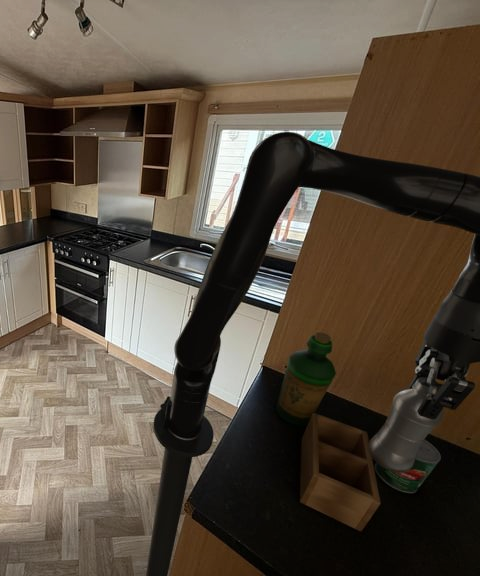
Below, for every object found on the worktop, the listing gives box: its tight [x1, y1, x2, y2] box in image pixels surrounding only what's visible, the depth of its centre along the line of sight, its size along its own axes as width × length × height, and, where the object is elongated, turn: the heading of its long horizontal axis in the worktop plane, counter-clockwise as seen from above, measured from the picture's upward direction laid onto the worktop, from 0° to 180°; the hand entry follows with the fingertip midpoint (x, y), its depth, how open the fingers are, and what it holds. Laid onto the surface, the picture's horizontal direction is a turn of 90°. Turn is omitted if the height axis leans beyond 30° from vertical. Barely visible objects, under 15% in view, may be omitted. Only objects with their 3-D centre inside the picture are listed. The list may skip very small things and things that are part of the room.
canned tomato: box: [374, 438, 442, 494], centre depth 72 cm, size 8×8×11 cm
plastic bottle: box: [368, 377, 445, 472], centre depth 58 cm, size 6×7×20 cm
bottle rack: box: [299, 412, 382, 532], centre depth 72 cm, size 11×19×10 cm, turn 148°
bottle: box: [276, 332, 337, 427], centre depth 85 cm, size 11×11×28 cm
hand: (420, 403), depth 55 cm, fingers closed on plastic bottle, 6 cm apart
